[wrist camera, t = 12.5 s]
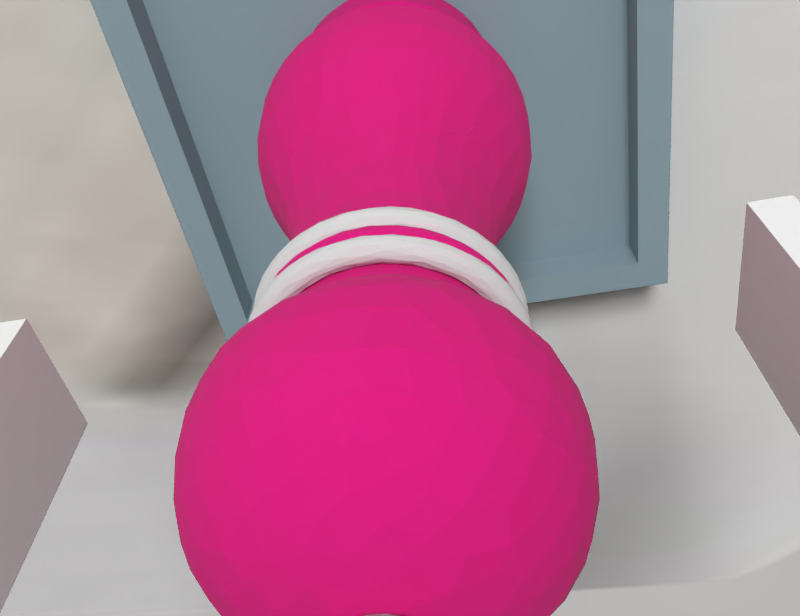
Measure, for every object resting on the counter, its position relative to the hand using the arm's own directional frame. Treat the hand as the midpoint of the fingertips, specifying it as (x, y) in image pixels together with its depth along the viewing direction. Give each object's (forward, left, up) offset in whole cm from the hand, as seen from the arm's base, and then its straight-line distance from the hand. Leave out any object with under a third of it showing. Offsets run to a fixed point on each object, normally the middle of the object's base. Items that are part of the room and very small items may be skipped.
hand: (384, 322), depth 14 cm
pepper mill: (0, 0, -12) cm, 12 cm away
